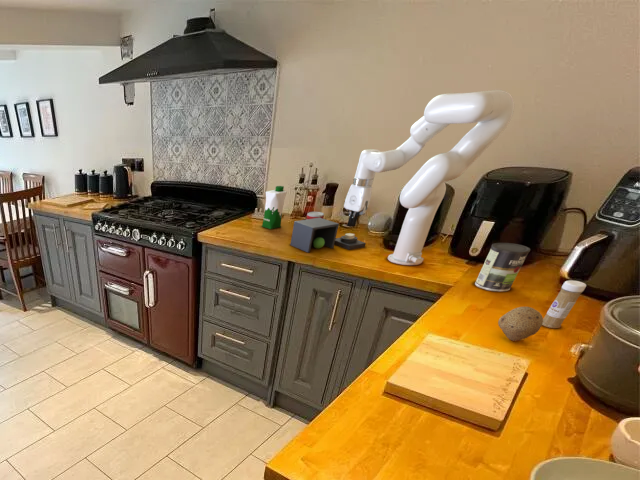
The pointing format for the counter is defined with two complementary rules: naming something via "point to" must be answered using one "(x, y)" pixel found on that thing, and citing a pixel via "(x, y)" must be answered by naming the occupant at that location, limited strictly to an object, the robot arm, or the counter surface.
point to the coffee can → (501, 266)
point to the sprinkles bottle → (563, 303)
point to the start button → (349, 236)
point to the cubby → (313, 233)
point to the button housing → (349, 243)
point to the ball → (318, 242)
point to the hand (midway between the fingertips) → (351, 225)
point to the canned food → (315, 215)
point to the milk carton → (274, 207)
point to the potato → (520, 323)
